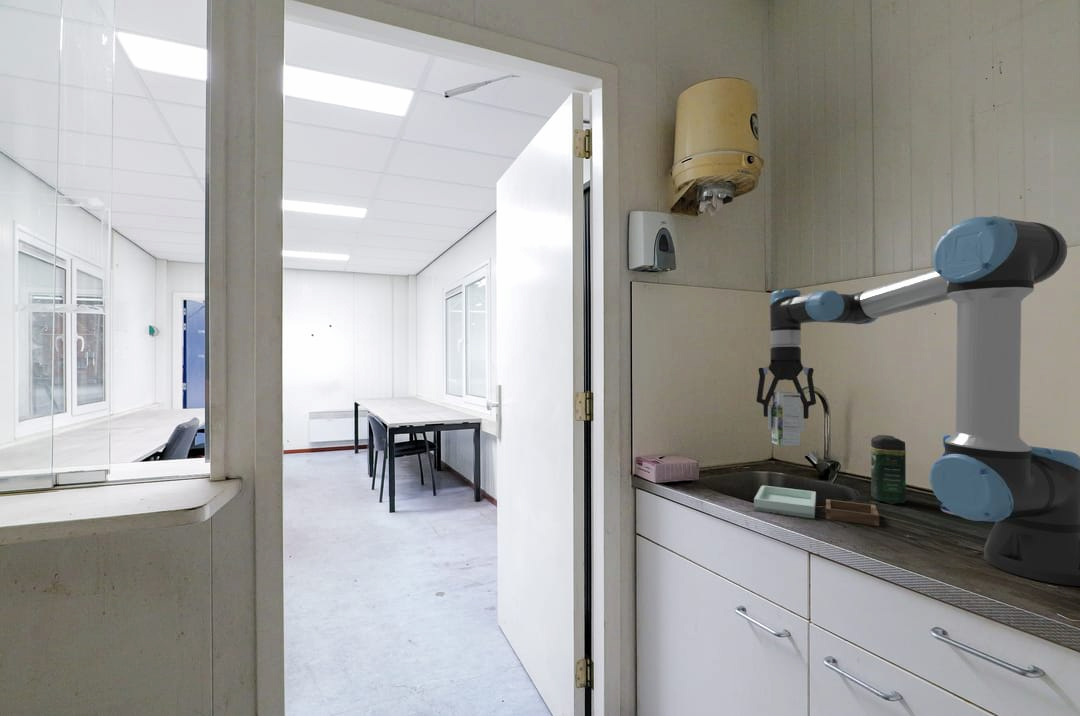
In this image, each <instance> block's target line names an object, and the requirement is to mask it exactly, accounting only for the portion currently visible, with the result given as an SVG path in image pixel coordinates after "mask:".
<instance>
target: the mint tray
mask: <svg viewBox="0 0 1080 716" xmlns="http://www.w3.org/2000/svg"><path fill="white" fill-rule="evenodd" d="M816 504H817V492H816V491H813V490H806V489H805V490H804V489H797V488H796V489H795V488H789V487H788V488H787V487H780V486H771V485H770V486H769V485H764V484H763V485H761V486H760V488H759V489H758V491H757V493H756V495H755V496H754V498H753V511H757V512H763V513H770V512H772V514H777V513H778V515H785V516H791V517H792V516H793V517H798V518H799V517H801V518H807V519H813V520H815V517H816V516H815V515H816V506H817V505H816Z"/></svg>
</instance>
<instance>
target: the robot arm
mask: <svg viewBox="0 0 1080 716" xmlns="http://www.w3.org/2000/svg"><path fill="white" fill-rule="evenodd" d="M1067 255H1068V245H1067V241H1066V239H1065V237H1064V236H1063V235H1062V233H1060V231H1058V230H1057V229H1056V228H1054V227H1052V226H1050V225H1047V224H1045V223H1041V222H1035V221H1024V220H1018V219H1011V218H1006V217H1004V216H1003V217H1002V216H996V215H995V216H993V215H992V216H975V217H970V218H967V219H964V220H962V221H960V222H958V223H956V224H955V225H952V227H950V228H949V229H948V230H947V231H946V232H945V234H944V235H942V236H940V238H939V240H938V242H937V243H936V244H935V247H934V250H933V252H932V266H933V268H931V269H929V270H925V271H922V272H920V273H919V272H918V273H916V274H913V275H909V276H906V277H903V278H901V279H897V280H894V281H891V282H888V283H887V282H886V283H885V284H881V285H877V286H875V287H872V288H869V289H866V290H863V291H860V292H857V293H852V294H848V293H846V294H845V293H838V292H837V291H836V290H831V289H829V290H817V291H815V292H810V293H805V294H802V293H801V290H799V289H793V288H792V289H790V288H787V289H779V290H774V291H773V292H772V293H771V294H770V304H769V309H770V311H769V313H770V315H769V316H770V318H769V319H770V330H769V331H770V332H769V333H770V334H769V335H770V340H769V341H770V346H772V347H771V348H770V363H769V364H768V366H765V367H759V368H758V374H759V379H758V387H757V393H756V402H757V404H758V403H759V404H762V405H763V417H767V430H772V404H771V405H770V402H771V401H772V395H773V392H776V388H777V385H778V383H779V382H780V381H784V380H786V381H792V383H793V385H794V388H795V389H796V393H800V402H801V403H802V406H801V405H800V432H804V431H805V420H807V419H809V417H810V416H809V415H810V414H809V412H810V411H809V408H810V407H811V406H814V405H816V404H817V397H816V393H815V387H814V379H813V375H814V371H815V369H814V367H807V366H806V367H805V366H804V365H803V364H802V349H801V347H800V345H802V326H801V325H802V324H806V323H807V324H808V323H835V324H836V323H837V324H838V323H839V324H853V325H864V324H865V325H867V324H872V323H874V322H875V321H876V320H878V319H879V318H881V317H886V316H889V315H894V314H897V313H901V312H905V311H906V312H907V311H908V310H913V309H917V308H921V307H922V308H923V307H924V306H930V305H932V304H937V303H941V302H944V301H949V300H951V301H952V302H954V303H955V304H956V363H955V364H956V367H955V368H956V370H955V371H956V372H955V376H956V377H955V378H956V379H955V431H954V433H953V434H951V435H949V436H950V437H948V438H947V439H945V448H944V452H945V456H942V455H941V457H939V458H938V459H937V460H936V461H935V462H933V463H932V465H931V466H930V467H931V468H930V470H929V484H930V488H931V489H932V493H933V494H934V495H935V497H936V498H937V500H938V501H940V503H941V502H942V503H943V504H944V506H945V507H946V508H947V509H948V510H950V511H951V512H953V513H954V514H956V515H958V516H957V517H960V518H963V519H966V520H968V521H969V520H970V521H976V522H977V521H978V522H994V523H993V526H992V528H991V531H990V532H989V533H990V534H989V535H988V537H987V539H986V542H985V543H984V548H983V558H984V561H985V562H987V563H988V564H989V565H991V566H992V567H995V568H997V569H999V570H1001V571H1005V572H1008V573H1010V574H1014V575H1016V576H1019V577H1024V578H1027V579H1030V580H1031V579H1032V580H1036V581H1039V582H1044V583H1049V584H1050V583H1051V584H1056V585H1064V586H1071V587H1072V586H1074V587H1080V456H1079V455H1078V454H1077V453H1076V452H1074V451H1069V450H1064V449H1054V448H1047V447H1040V446H1031V445H1028V443H1026V442H1025V441H1024V440H1023V439H1022V438H1021V437H1020V424H1021V423H1020V419H1021V418H1020V415H1021V411H1020V409H1021V357H1022V356H1021V354H1022V353H1021V352H1022V351H1021V350H1022V347H1021V343H1022V341H1021V340H1022V335H1021V334H1022V302H1023V300H1024V299H1025V298H1027V297H1028V296H1029V295H1031V294H1032V293H1033V292H1034V291H1035V290H1034V289H1035V287H1034V286H1035V285H1036V284H1039V283H1042V282H1044V281H1046V280H1047V279H1049V278H1051V277H1052V276H1053V275H1055V274H1056V273H1057V272H1058V271H1060V269H1061V268H1062V266H1063V265H1064V263H1065V262H1066V259H1067ZM769 371H770V372H771V374H772V375H773V379H772V382H771V384H770V387H768V388H769V389H768V391H767V394H766V396H765V398H764V399H763V397H764V396H763V395H764V389H765V382H766V375H767V374H768V373H769ZM802 371H803V374H804V376H806V380H807V386H808V393H809V399H810V400H808V399H807V397H806V394H805V392H804V390H803V387H802V386H801V384H800V380H799V378H798V377H799V375H800V374H801V372H802ZM956 515H955V516H956Z"/></svg>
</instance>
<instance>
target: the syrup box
mask: <svg viewBox="0 0 1080 716" xmlns="http://www.w3.org/2000/svg"><path fill="white" fill-rule="evenodd" d="M771 405H772V429H771V443H772V444H774V445H776V446H779V447H781V446H782V447H800V446H801V431H800V407H801V399H800V393H798V392H794V391H793V392H792V391H774V392H773V395H772V397H771Z"/></svg>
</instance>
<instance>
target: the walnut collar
mask: <svg viewBox="0 0 1080 716" xmlns="http://www.w3.org/2000/svg"><path fill="white" fill-rule="evenodd" d="M825 519H826V520H833V521H839V522H847V523H855V524H862V525H868V526H876V527H880V515H879V511H878V509H877V506H876V504H871V503H862V502H861V503H860V502H854V501H844V500H838V499H829V498H828V499H827V498H826V499H825Z"/></svg>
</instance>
